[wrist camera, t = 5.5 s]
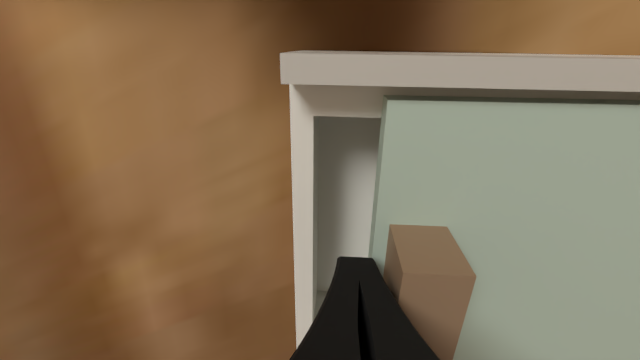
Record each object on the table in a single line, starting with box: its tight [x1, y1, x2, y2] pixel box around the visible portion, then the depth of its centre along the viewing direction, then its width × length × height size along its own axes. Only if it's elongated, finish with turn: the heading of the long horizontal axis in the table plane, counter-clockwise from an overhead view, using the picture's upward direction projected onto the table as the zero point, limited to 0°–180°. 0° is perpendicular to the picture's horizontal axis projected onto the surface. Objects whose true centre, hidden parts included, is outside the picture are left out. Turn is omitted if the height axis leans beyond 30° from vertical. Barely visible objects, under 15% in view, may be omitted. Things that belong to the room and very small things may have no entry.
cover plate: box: [368, 95, 640, 360], centre depth 10 cm, size 13×14×4 cm
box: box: [280, 50, 640, 349], centre depth 13 cm, size 15×14×6 cm
